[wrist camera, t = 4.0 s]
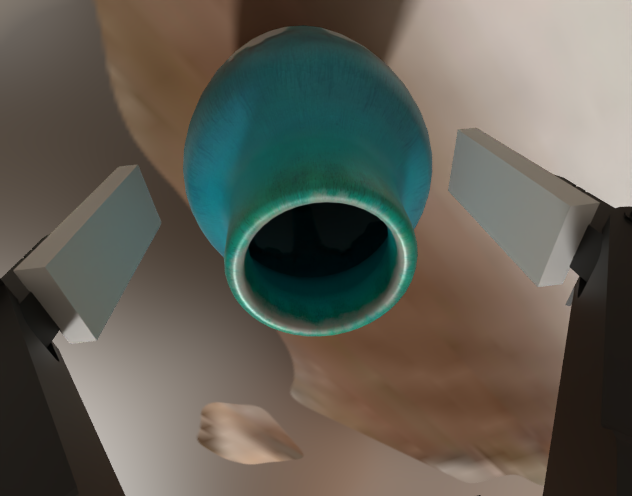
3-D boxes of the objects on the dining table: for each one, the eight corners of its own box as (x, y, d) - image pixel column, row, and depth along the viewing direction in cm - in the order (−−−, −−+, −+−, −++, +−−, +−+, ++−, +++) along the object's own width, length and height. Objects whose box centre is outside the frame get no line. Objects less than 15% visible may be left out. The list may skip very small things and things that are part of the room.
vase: (395, 56, 23) (619, 150, 8) (339, 190, 29) (403, 403, 13) (242, -8, 21) (114, -62, 5) (213, 153, 26) (107, 365, 11)
